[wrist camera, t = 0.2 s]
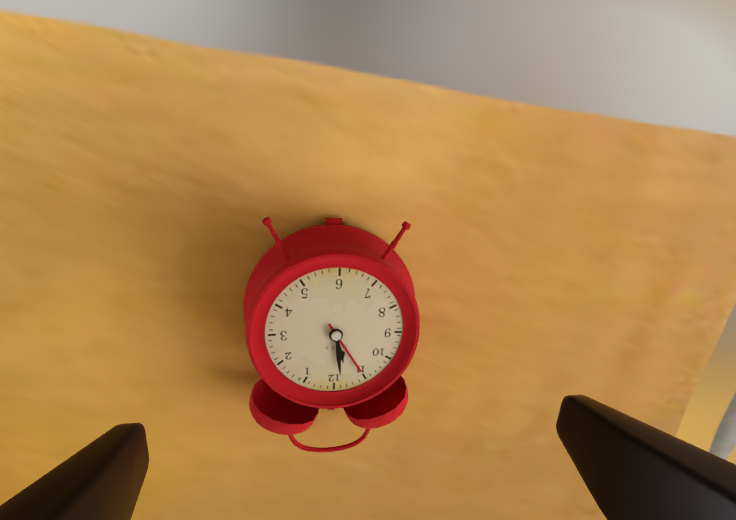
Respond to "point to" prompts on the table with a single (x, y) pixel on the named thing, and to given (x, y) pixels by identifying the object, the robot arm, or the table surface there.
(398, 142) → the table surface
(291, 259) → the alarm clock
